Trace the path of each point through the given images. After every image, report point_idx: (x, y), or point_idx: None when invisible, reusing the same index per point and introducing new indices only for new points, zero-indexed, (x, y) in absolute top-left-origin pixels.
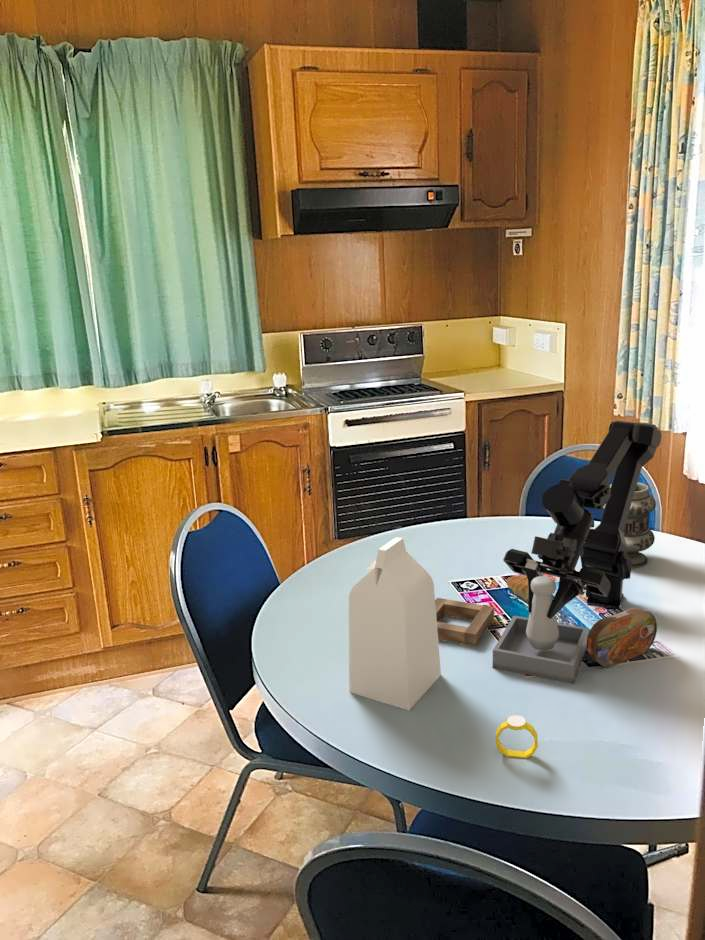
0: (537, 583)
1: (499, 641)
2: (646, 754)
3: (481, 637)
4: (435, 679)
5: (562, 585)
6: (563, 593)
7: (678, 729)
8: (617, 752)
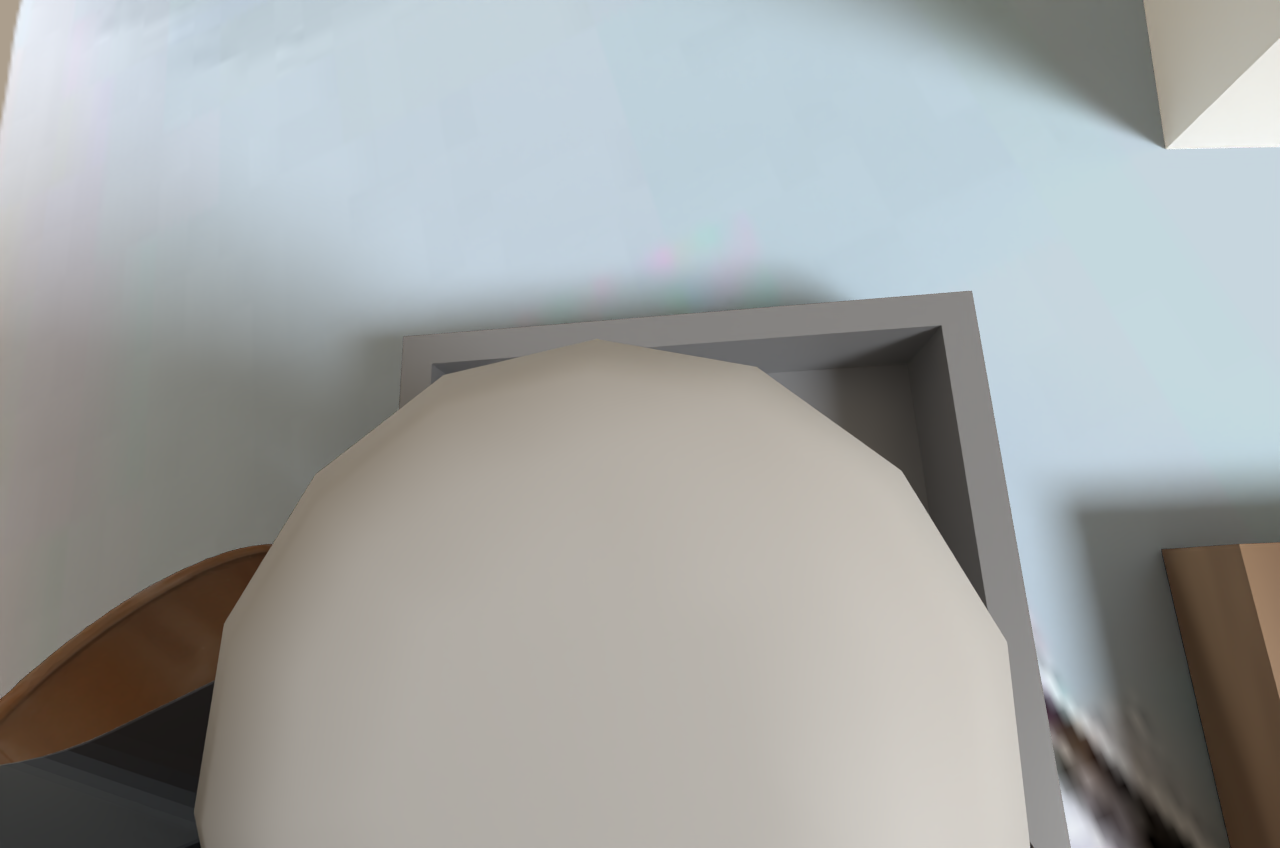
0: (704, 393)
1: (984, 432)
2: (145, 45)
3: (1198, 702)
4: (1163, 82)
5: (53, 822)
6: (191, 694)
7: (18, 238)
8: (240, 9)
